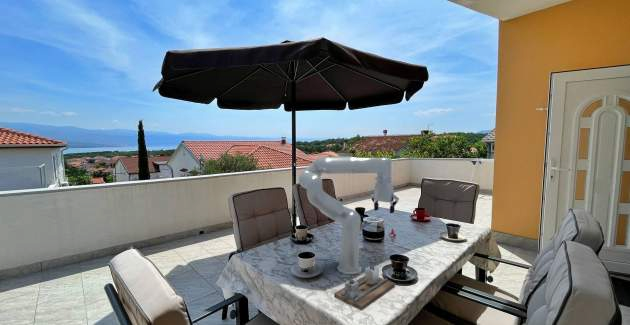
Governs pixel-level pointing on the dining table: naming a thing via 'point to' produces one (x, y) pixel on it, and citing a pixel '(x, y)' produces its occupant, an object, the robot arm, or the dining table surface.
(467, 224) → the dining table surface
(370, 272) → the grey sliding block
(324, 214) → the robot arm
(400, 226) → the dining table surface
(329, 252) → the dining table surface
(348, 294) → the bolt plate
